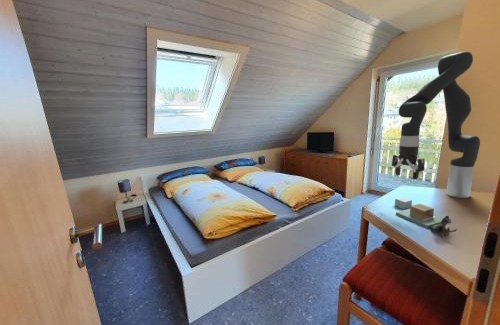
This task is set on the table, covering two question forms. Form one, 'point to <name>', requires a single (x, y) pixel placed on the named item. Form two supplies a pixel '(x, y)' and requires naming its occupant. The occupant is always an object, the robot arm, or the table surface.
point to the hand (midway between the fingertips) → (406, 177)
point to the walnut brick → (422, 211)
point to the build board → (425, 223)
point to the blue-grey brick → (403, 202)
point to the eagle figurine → (443, 226)
